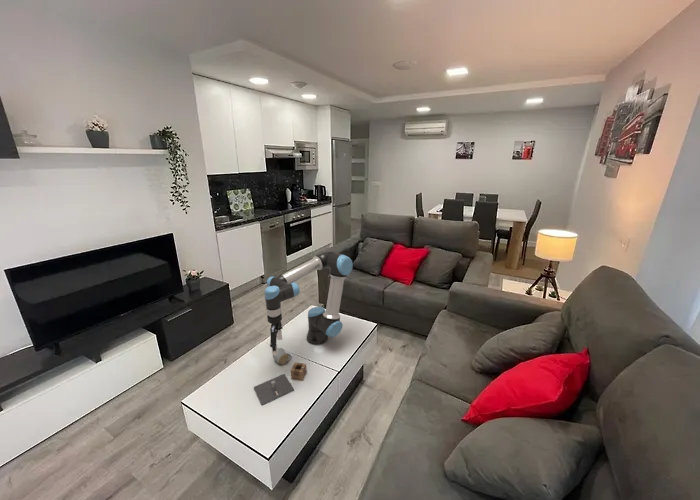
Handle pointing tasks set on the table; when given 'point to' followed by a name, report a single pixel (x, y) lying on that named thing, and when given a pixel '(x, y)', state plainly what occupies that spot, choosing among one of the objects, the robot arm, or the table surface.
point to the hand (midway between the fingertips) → (277, 347)
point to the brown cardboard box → (298, 371)
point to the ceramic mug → (282, 356)
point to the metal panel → (273, 389)
